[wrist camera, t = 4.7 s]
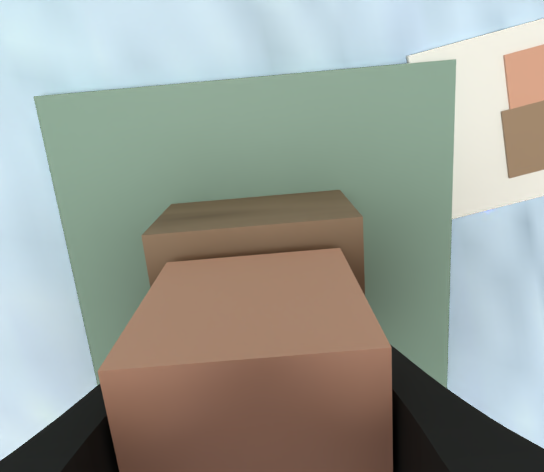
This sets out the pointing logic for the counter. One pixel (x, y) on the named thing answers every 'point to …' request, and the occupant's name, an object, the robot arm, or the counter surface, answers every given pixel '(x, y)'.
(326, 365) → the terracotta brick
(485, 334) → the counter surface
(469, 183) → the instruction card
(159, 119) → the plate
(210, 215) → the walnut brick
